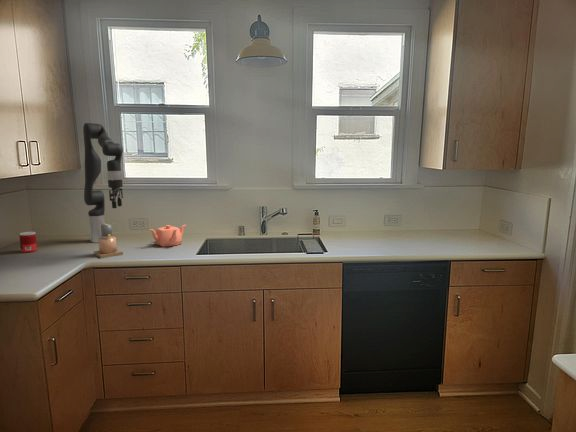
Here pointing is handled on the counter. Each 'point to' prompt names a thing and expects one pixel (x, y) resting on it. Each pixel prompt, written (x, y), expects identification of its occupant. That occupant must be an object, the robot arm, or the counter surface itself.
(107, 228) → the cap
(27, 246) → the canned food
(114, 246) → the canister
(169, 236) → the pot
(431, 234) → the counter surface
